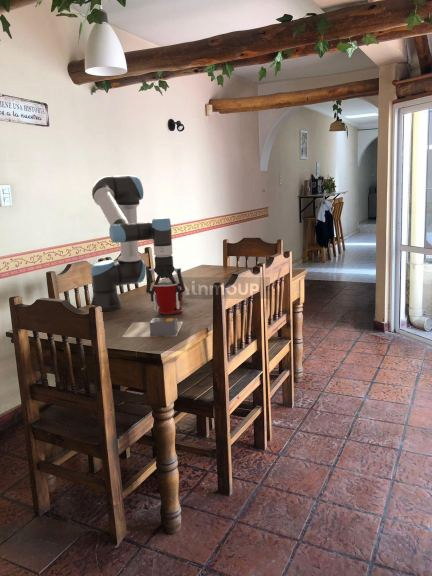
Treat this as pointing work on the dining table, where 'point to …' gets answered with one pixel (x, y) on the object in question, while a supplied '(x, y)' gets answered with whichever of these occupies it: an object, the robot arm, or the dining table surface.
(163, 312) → the plant pot
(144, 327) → the plywood panel
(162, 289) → the plastic cup
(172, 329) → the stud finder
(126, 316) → the dining table surface
